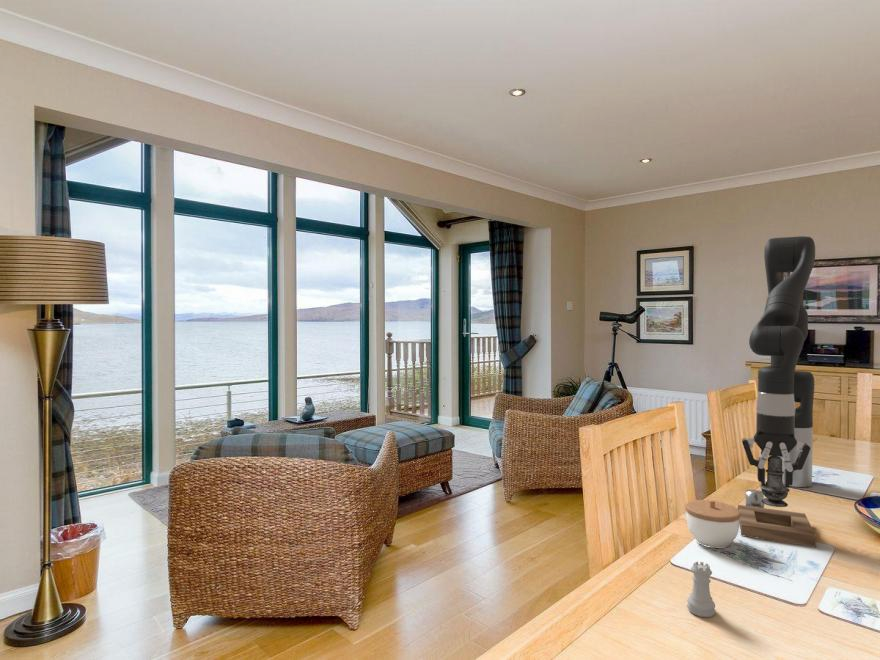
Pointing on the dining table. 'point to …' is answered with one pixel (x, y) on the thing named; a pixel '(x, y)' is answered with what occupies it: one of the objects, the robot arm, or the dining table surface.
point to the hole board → (794, 534)
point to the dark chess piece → (774, 484)
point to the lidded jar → (712, 522)
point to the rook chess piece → (701, 592)
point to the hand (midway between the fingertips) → (774, 484)
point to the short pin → (754, 498)
